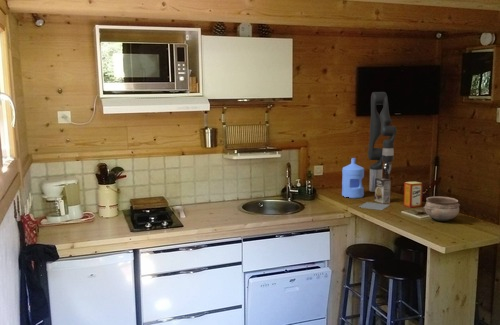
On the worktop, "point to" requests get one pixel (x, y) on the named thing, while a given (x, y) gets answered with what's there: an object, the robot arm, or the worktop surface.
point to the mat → (374, 206)
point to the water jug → (352, 180)
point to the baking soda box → (413, 194)
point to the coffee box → (382, 190)
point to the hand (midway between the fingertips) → (387, 178)
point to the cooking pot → (442, 208)
